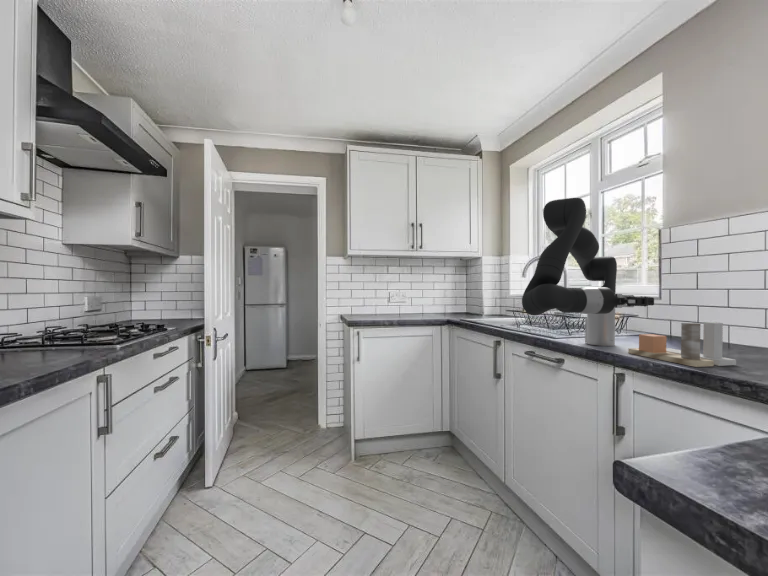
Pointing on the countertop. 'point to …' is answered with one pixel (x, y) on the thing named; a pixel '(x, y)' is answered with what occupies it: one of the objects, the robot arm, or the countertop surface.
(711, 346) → the grey upright bracket
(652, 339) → the terracotta cube
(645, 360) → the countertop surface
